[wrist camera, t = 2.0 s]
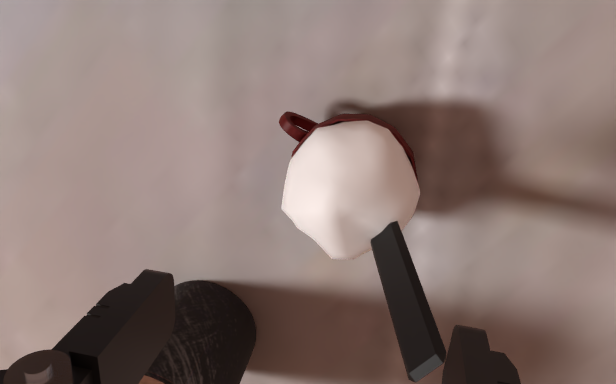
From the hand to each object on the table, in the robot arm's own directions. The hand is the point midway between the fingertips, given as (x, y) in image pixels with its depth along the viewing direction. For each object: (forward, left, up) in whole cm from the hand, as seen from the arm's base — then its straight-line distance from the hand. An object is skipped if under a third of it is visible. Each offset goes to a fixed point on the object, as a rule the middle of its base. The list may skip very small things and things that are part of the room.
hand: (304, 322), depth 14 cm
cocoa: (0, 0, -14) cm, 14 cm away
